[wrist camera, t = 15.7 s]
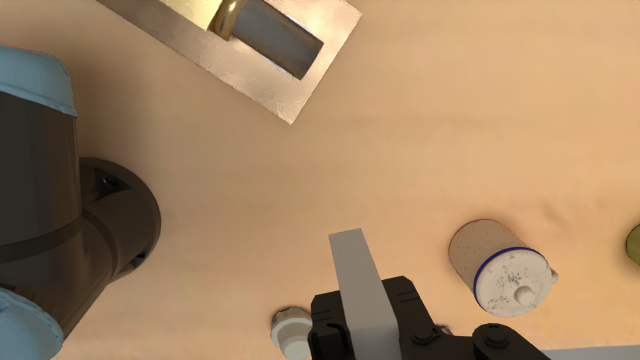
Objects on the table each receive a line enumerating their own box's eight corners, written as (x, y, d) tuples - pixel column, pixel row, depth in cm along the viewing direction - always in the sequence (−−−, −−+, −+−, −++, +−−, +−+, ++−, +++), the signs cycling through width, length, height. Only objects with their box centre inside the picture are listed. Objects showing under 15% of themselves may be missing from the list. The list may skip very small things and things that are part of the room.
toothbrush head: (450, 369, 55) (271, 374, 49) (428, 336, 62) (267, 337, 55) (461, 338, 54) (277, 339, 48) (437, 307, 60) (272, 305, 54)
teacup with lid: (438, 273, 55) (476, 330, 44) (456, 212, 52) (500, 257, 41) (519, 282, 56) (576, 339, 45) (540, 223, 53) (606, 269, 42)
